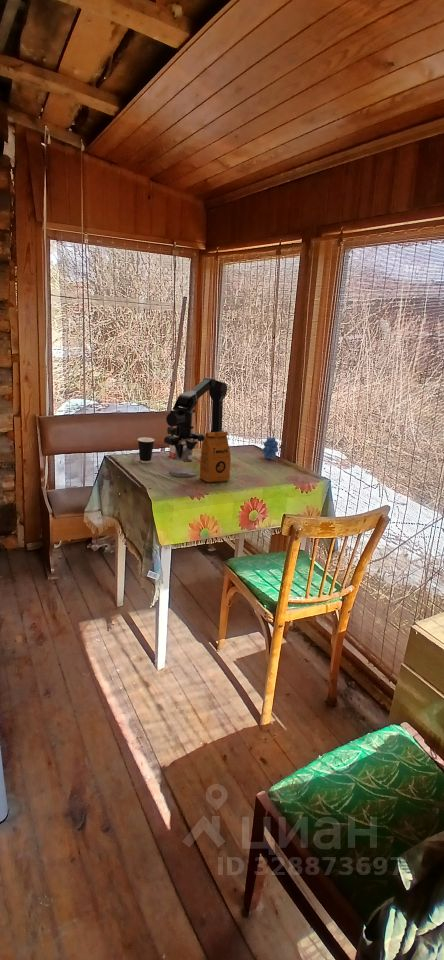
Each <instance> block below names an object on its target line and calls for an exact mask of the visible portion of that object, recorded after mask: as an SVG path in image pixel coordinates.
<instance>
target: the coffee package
mask: <svg viewBox="0 0 444 960" xmlns="http://www.w3.org/2000/svg"><path fill="white" fill-rule="evenodd" d="M228 435H229V432H228V431H223V432H211V431H210V432H205V434H204V440H203V441H202V445H201V449H200V450H201V451H200V452H201V453H200V464H199V466H200V467H199V479H200V480H203V481H204V482H207V483H216V482H217V483H221V482H229V480H230V477H231V460H232V459H231V458H232V457H231V455H232V454H231V450H230V445H229V440H228V439H229V438H228V437H227V436H228Z"/></svg>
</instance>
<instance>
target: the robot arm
mask: <svg viewBox="0 0 444 960" xmlns="http://www.w3.org/2000/svg"><path fill="white" fill-rule="evenodd" d="M227 391H228V385H227V383H225V382H223V381H219V380H216V379H215V378H213V377H204V378H203V379H202V380H201V381H200V382H199V383H198V384H197V385H196V386H194V387H193V388H192V389H190V390H188V391H184V392H182V393H180V394H179V395H178V396H177V399H176V401H175V403H174V406H172V407H173V408H172V409H170V410H169V411H170V413H168V414H167V416H166V418H165V420H166V423H167V425H168V427H167V429H166V430H167V431H166V432H167V434H168V435H167V436H166V435H165V437H164V439H163V443H164V444H167V445H169V446H170V445H174V446H175V448H176V450H177V454H178V457H179V458H181V456H182V451H183V445H184V444H182V441H185V442H186V445H187V446H186V448H188V449H191V450H194V448H195V447H196V445H198V442H203V440H204V437H205V434H202V433H199V432H192V429H194V426H193V413H195V412H196V410H195V409H194V408H195V406H196V405H197V404H198V400H199V399H200V398H201V397H202V396H204V394H206V393H207V392H208V394H209V397H210V398H211V401H212V403H211V404H212V406H211V407H212V408H211V410H212V412H211V430H210V432H224V431H223V411H224V410H223V408H224V407H223V406H224V400H225V398H226V396H227ZM170 434H171V436H170ZM174 435H175V436H178V437H174ZM186 438H187V439H186Z"/></svg>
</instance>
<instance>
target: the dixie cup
mask: <svg viewBox="0 0 444 960" xmlns="http://www.w3.org/2000/svg"><path fill="white" fill-rule="evenodd" d="M154 441H155V438H152V437H139V438H137V443H138V444H137V445H138V453H139V454H138V455H139V461H140V463H141V464H149V463H151V461H152V457H153V450H154V444H155V443H154Z"/></svg>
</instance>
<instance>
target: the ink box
mask: <svg viewBox="0 0 444 960" xmlns="http://www.w3.org/2000/svg"><path fill="white" fill-rule="evenodd" d="M169 436H171V434H169ZM174 437H178V436H175V435H174ZM186 439H187V438H186ZM182 444H184V445H183V447H186V446H187V445H186V442H185V441H182ZM168 456H169V457H170V458H172V459H176V458H175V446H174V445H169V454H168Z"/></svg>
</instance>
